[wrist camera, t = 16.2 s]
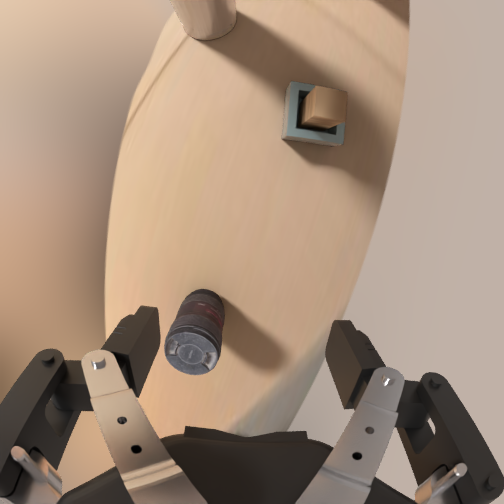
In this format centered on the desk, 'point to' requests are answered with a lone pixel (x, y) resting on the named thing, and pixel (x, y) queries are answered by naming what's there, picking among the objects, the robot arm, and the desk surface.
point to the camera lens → (196, 333)
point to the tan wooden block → (322, 109)
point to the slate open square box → (295, 133)
